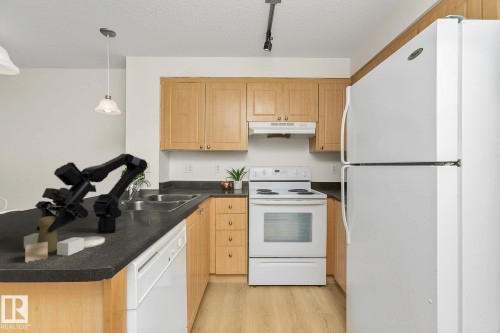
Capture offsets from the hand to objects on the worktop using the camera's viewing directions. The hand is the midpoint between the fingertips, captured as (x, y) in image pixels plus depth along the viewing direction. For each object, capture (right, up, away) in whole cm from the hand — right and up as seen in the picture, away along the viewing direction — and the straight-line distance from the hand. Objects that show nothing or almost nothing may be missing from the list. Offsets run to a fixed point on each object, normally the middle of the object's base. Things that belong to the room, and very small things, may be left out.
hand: (43, 231), depth 80 cm
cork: (0, -7, +1) cm, 7 cm away
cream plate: (+9, -7, +8) cm, 14 cm away
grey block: (+9, -7, 0) cm, 12 cm away
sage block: (-7, -7, +5) cm, 11 cm away
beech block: (+3, -7, -6) cm, 9 cm away
